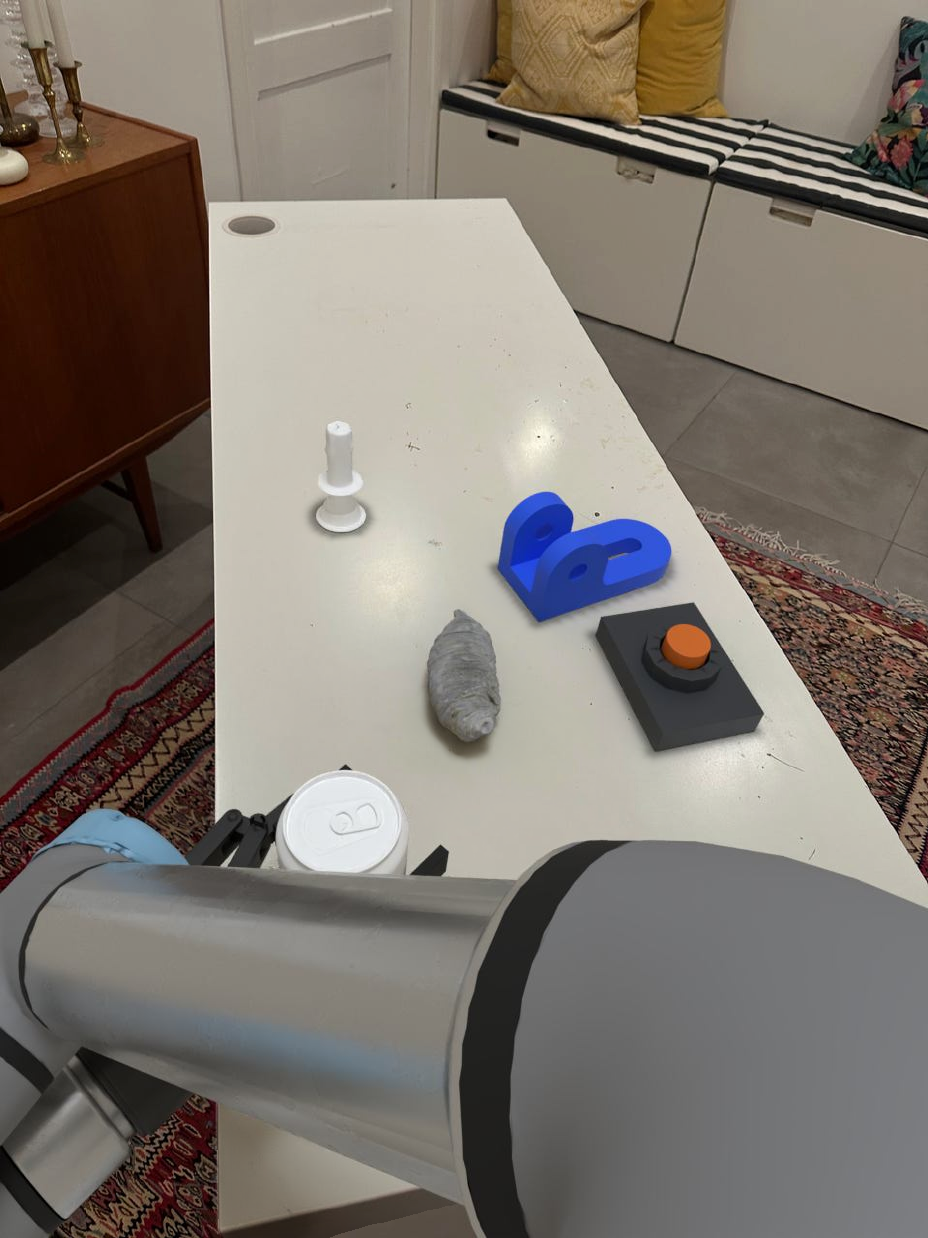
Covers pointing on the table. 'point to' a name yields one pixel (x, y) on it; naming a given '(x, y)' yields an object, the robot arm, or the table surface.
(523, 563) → the bracket
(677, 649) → the switch
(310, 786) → the beverage can
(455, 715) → the grey ridged oval piece
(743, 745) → the table surface
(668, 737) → the push button base
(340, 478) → the candle
